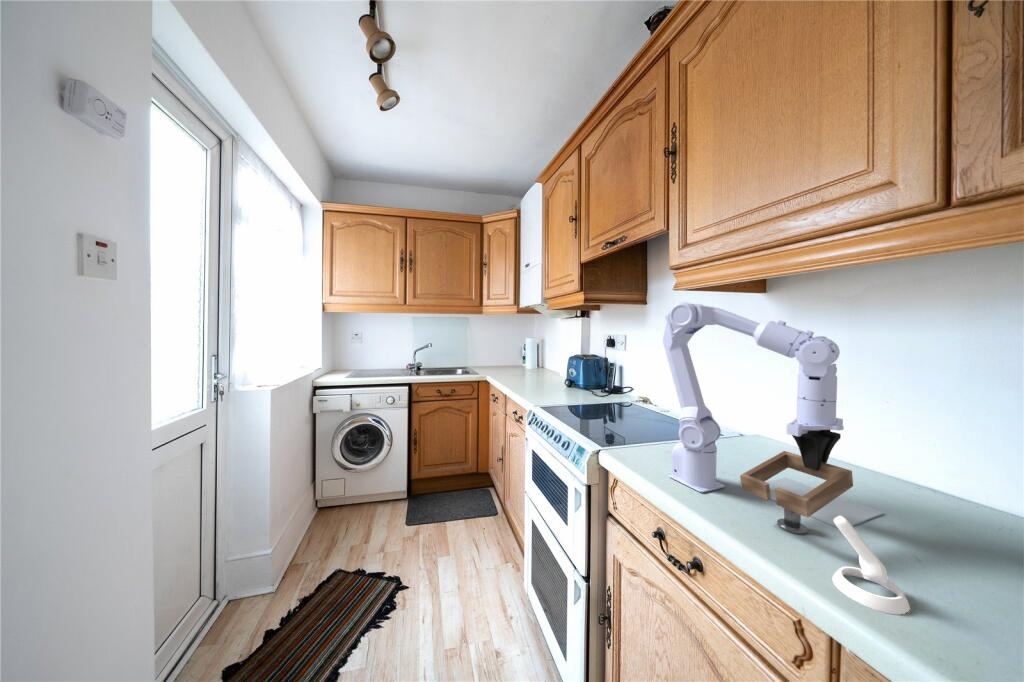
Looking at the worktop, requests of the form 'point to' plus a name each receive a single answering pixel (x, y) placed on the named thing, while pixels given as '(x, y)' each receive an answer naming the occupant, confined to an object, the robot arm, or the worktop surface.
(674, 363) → the robot arm
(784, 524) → the post
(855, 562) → the worktop surface
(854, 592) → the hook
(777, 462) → the wooden frame
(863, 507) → the mat
